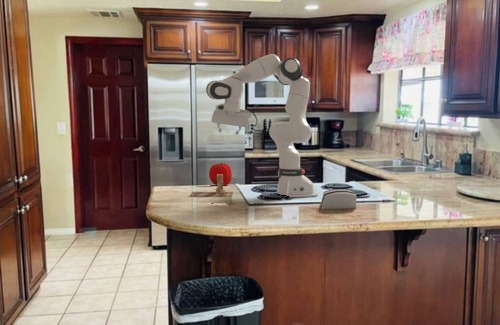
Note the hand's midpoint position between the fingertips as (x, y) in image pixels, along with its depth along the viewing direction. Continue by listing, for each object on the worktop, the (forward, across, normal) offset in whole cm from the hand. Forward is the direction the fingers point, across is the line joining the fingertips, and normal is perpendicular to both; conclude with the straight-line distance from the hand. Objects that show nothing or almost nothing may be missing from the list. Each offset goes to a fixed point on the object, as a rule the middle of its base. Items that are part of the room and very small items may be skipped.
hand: (228, 133), depth 232 cm
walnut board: (+33, +4, +14) cm, 36 cm away
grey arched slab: (+23, -56, +41) cm, 73 cm away
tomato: (+34, 0, -20) cm, 40 cm away
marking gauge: (+31, 0, +11) cm, 33 cm away
